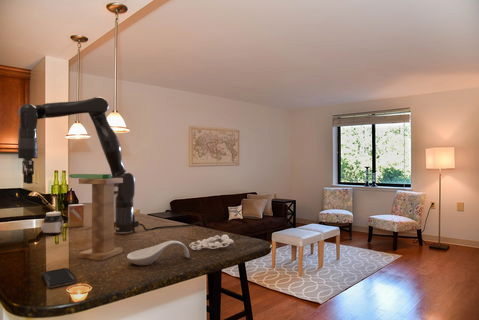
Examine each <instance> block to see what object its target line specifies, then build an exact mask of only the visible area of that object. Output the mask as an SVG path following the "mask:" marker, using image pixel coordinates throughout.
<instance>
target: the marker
mask: <svg viewBox="0 0 479 320" xmlns="http://www.w3.org/2000/svg"><path fill="white" fill-rule="evenodd" d="M111 176H112V173H71V174H69V176H68V177H69V178H70V179H85V178H94V179H111Z"/></svg>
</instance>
